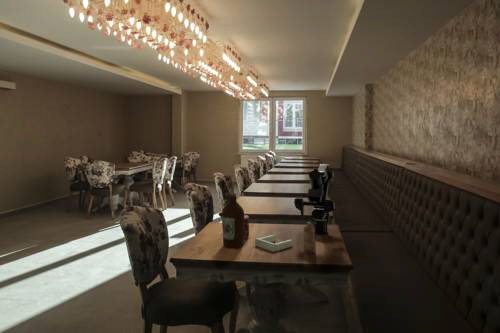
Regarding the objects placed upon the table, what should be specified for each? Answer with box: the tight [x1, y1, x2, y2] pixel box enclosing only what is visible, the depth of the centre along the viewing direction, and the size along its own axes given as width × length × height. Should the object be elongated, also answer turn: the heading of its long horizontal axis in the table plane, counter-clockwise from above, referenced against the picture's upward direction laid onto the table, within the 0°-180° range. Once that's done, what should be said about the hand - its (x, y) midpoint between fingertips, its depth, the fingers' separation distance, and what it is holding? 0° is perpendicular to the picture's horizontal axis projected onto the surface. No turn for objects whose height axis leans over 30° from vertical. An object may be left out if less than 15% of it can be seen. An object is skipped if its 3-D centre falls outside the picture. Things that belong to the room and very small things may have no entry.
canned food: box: [243, 214, 250, 240], centre depth 198 cm, size 8×8×11 cm
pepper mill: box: [303, 221, 316, 254], centre depth 174 cm, size 5×5×13 cm
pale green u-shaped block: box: [254, 234, 293, 253], centre depth 183 cm, size 12×12×3 cm
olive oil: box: [221, 192, 245, 249], centre depth 183 cm, size 11×11×25 cm
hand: (312, 219), depth 181 cm, fingers open, 9 cm apart
